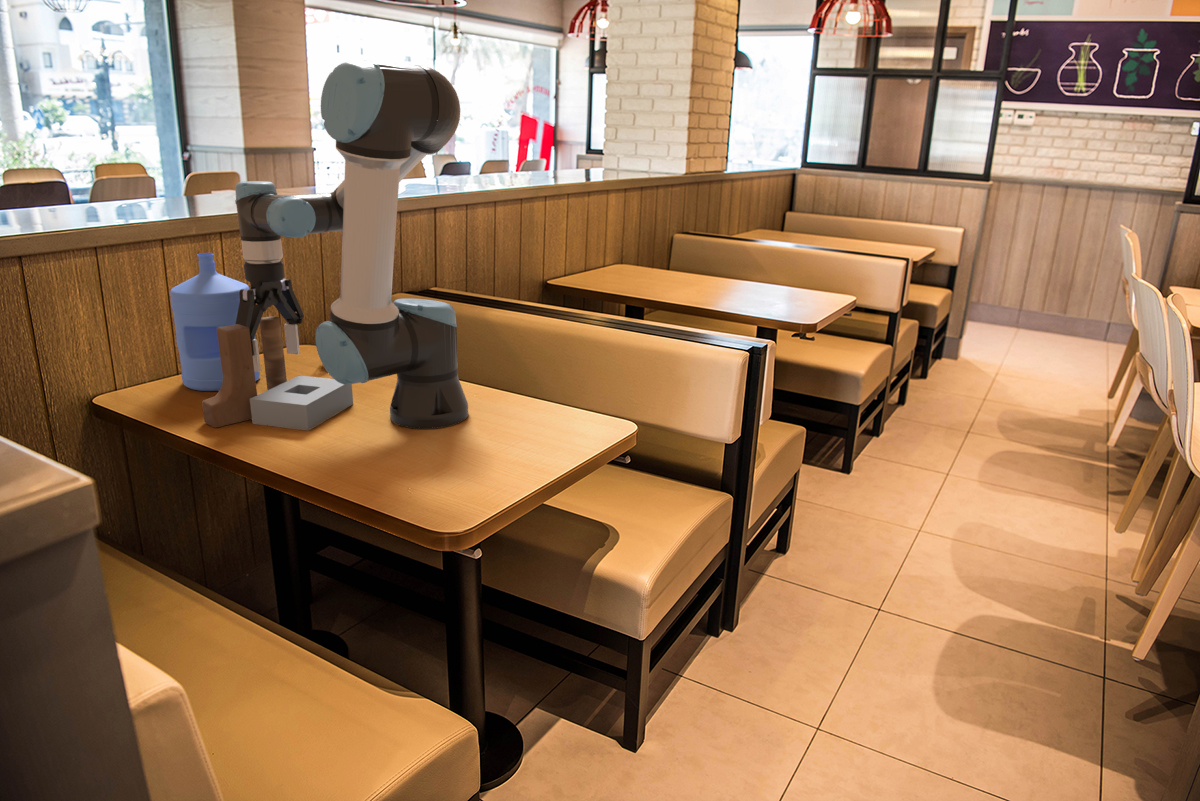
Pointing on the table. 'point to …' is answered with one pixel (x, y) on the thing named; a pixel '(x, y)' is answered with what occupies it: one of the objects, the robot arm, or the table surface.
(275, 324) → the pin
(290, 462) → the table surface
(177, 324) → the water jug
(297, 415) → the socket board
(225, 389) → the brown boot
